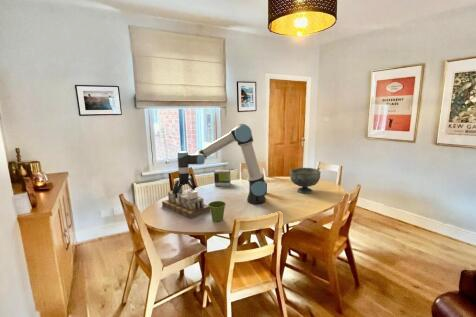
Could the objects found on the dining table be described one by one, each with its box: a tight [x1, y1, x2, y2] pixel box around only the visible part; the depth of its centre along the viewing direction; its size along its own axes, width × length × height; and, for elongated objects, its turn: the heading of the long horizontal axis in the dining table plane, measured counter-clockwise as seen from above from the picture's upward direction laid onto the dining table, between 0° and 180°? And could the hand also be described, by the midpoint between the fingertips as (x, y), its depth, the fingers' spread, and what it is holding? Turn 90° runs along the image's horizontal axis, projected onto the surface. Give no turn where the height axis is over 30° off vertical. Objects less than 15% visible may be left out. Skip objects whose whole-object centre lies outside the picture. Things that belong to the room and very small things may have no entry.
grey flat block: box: [161, 198, 211, 220], centre depth 189 cm, size 36×18×4 cm, turn 48°
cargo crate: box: [187, 189, 198, 199], centre depth 180 cm, size 5×5×4 cm
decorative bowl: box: [289, 167, 321, 195], centre depth 224 cm, size 26×26×20 cm
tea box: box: [213, 169, 231, 187], centre depth 249 cm, size 15×10×15 cm, turn 84°
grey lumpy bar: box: [167, 190, 205, 211], centre depth 188 cm, size 32×9×7 cm, turn 48°
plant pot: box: [207, 200, 227, 223], centre depth 168 cm, size 12×12×11 cm
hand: (185, 199), depth 188 cm, fingers open, 13 cm apart
